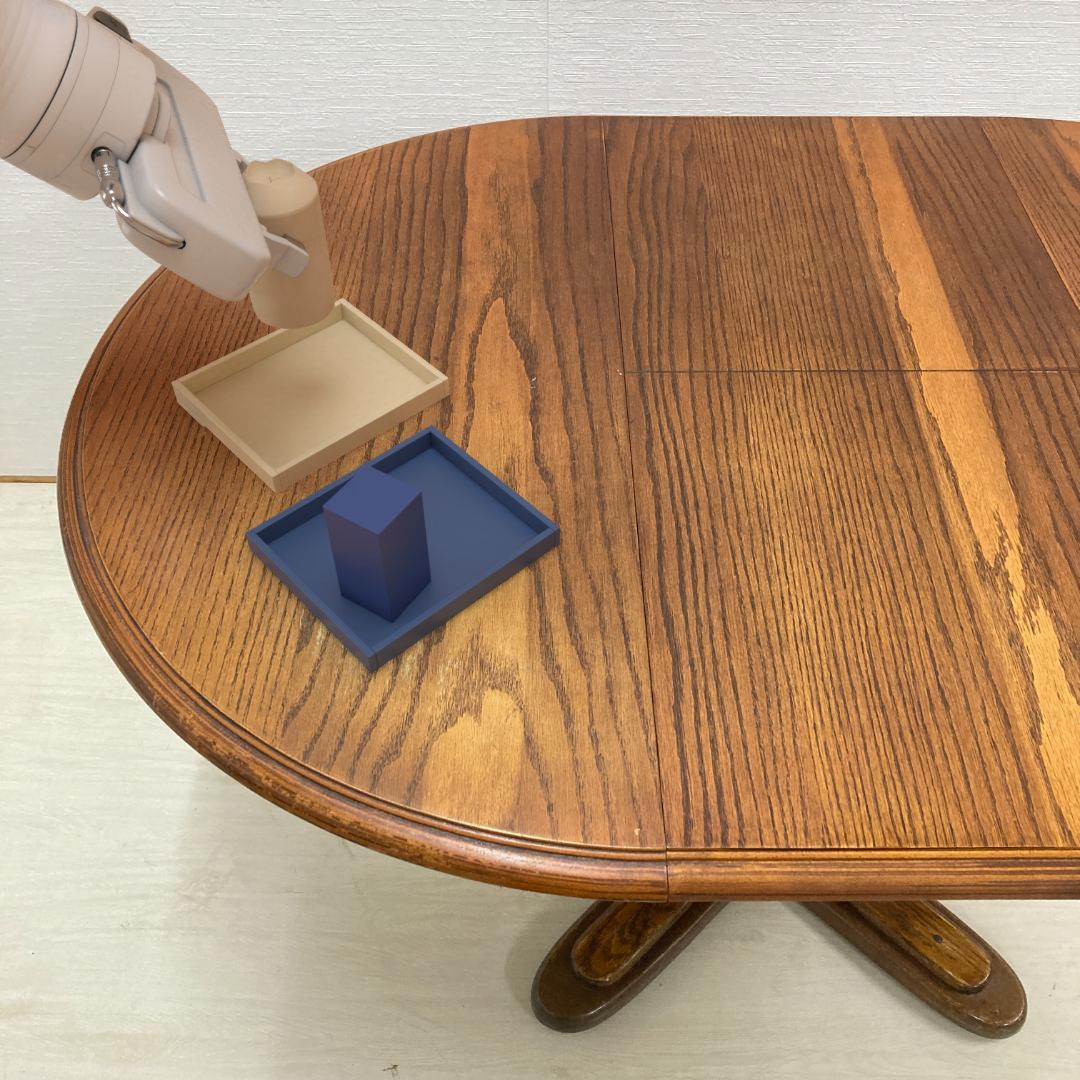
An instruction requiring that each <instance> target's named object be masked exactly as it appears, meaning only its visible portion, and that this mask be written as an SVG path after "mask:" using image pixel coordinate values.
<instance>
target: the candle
mask: <svg viewBox="0 0 1080 1080" xmlns="http://www.w3.org/2000/svg"><path fill="white" fill-rule="evenodd" d="M241 175H242V177H243V180H244V183H245V186H246V188H247V191H248V194H249V196H250V199H251V202H252V205H253V207H254V210H255V213H256V216H257V218H258V221H259V223H260V224H262V225H263V226H265V227H266V228H267V231H268V233H271V234H274V235H276V236H279V237H282V236H283V235H284V234H287V235H289V236H290V237H292V238H294V239H295V240H296V241H299V242H301V243H302V244H303V245H304V247H305V249H306V251H307V254H308V255H309V258H310V263H309V265H308V266H307V267H306V269H305V270H304V271H303V272H302V274H301V275H300V276H299V277H296V278H291V277H289V276H287V275H285V274H284V273H282V272H280V271H278V270H276V269H274V268H267V270H266V271H265V273H264V274H263V275H262V277H261V278H260V279H259V281H258V282H257V283H256V285H255V286H254V287H253V288H252V289H251V291H250V292H249V293H248V295H249V297H250V301H251V306H252V309H253V312H254V314H255V315H256V317H257V318H258V319H259V321H260V322H261V323H263V324H265V325H267V326H270V327H271V328H275V329H276V328H277V329H297V328H303V327H307V326H310V325H313V324H316V323H318V322H320V321H321V320H323V319H324V318H326V317H327V316H328V315H329V314H330V313H331V311H332V310H333V308H334V305H335V302H336V293H335V292H336V291H335V285H334V279H333V272H332V266H331V260H330V255H329V247H328V242H327V236H326V229H325V222H324V217H323V216H324V215H323V211H322V204H321V199H320V192H319V186H318V183H317V181H316V180H315V179H314V178H313V177H312V176H311V175H310V174H308V173H307V172H305V171H304V170H302V169H301V168H300V167H298V166H297V165H295V164H294V163H293V162H292V161H288V160H286V159H283V158H277V157H276V158H272V159H270V160H267V161H261V160H252V161H250V162H249V165H248V166H247V168H246V169H245V170H244V172H243V173H242V174H241Z"/></svg>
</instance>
